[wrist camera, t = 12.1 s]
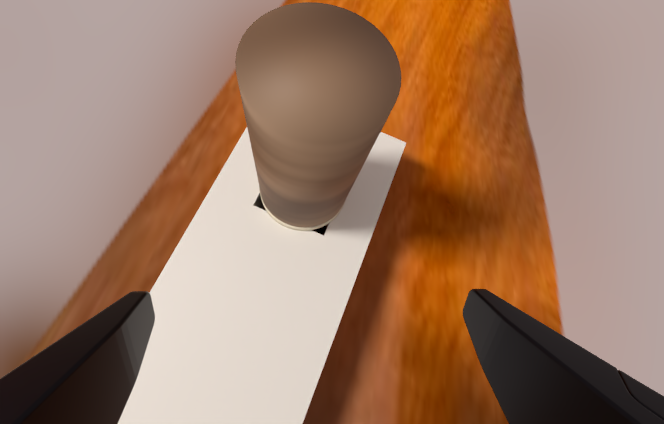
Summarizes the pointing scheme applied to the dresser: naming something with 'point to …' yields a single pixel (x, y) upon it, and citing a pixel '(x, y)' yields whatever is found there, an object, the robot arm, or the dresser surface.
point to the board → (253, 302)
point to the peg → (313, 106)
